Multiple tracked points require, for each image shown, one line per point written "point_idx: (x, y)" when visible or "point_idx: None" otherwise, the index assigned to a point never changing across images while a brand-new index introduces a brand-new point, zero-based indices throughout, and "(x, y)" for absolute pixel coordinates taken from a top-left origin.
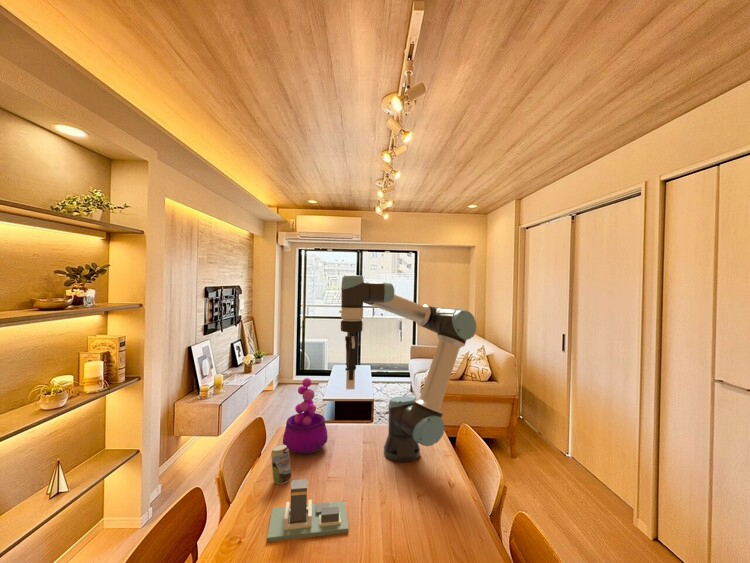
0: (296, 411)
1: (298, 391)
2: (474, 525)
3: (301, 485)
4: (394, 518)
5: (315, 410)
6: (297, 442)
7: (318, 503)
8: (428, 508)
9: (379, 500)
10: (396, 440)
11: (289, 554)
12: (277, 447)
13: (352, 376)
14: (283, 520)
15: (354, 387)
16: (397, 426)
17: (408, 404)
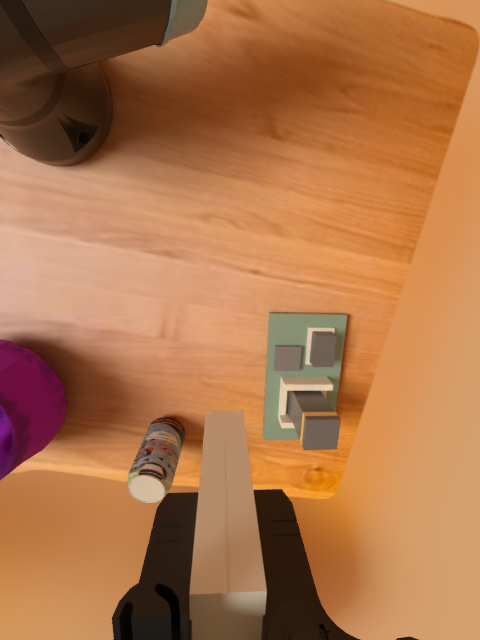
0: None
1: None
2: (398, 38)
3: (329, 430)
4: (331, 218)
5: None
6: (51, 430)
7: (274, 365)
8: (320, 127)
9: (269, 235)
10: (61, 110)
11: (362, 402)
12: (142, 493)
13: (298, 536)
14: None
15: (243, 419)
16: (37, 79)
17: None
